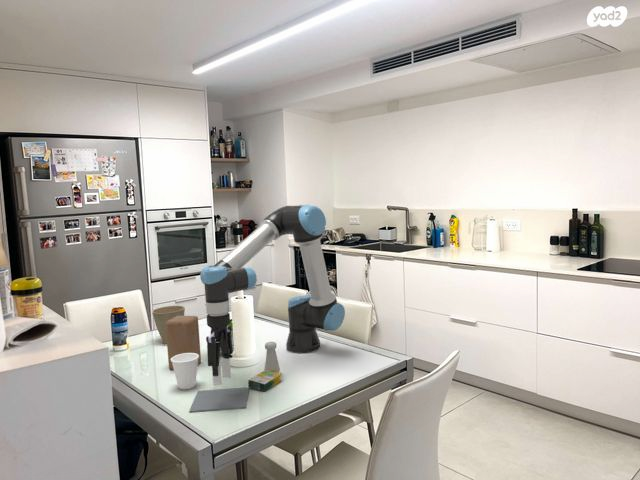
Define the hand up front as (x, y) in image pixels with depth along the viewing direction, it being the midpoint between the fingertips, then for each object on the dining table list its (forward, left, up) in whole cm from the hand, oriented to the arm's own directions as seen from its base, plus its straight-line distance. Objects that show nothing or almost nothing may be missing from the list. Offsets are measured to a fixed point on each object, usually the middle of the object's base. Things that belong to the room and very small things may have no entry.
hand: (222, 380), depth 162 cm
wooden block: (+20, -36, -7) cm, 42 cm away
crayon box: (-11, -6, -5) cm, 13 cm away
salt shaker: (-16, -18, -7) cm, 25 cm away
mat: (+1, 0, -7) cm, 7 cm away
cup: (+15, -14, -7) cm, 22 cm away
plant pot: (+34, -72, -7) cm, 80 cm away
